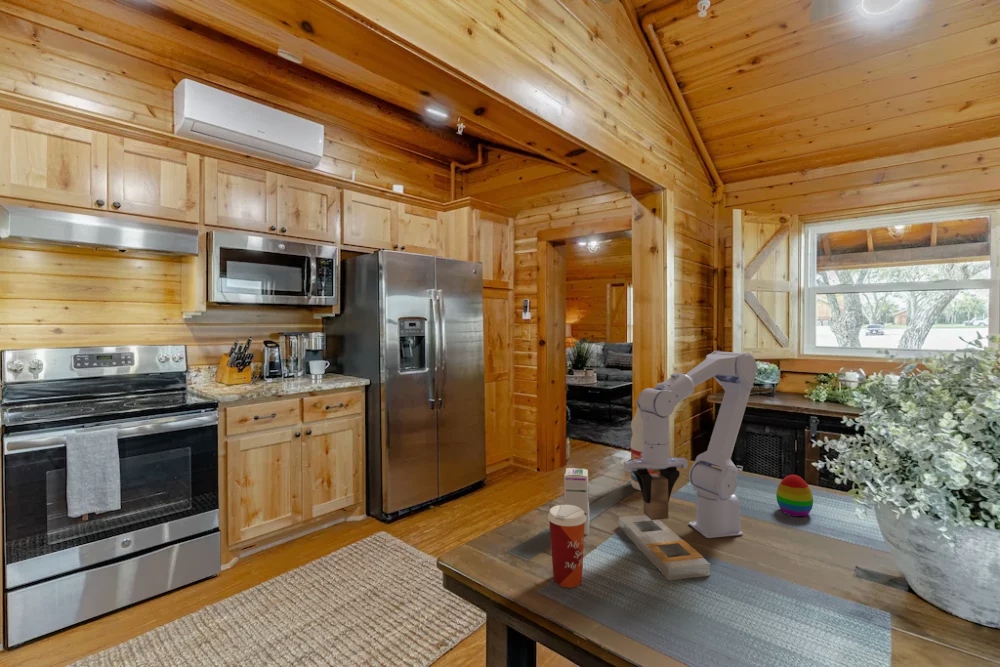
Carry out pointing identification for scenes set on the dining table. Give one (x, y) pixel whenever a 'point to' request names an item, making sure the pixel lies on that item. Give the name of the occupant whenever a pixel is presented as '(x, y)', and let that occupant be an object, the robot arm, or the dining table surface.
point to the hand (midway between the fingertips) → (656, 500)
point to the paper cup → (567, 544)
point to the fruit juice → (637, 446)
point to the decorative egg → (794, 496)
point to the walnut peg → (657, 498)
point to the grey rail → (664, 548)
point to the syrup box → (577, 491)
